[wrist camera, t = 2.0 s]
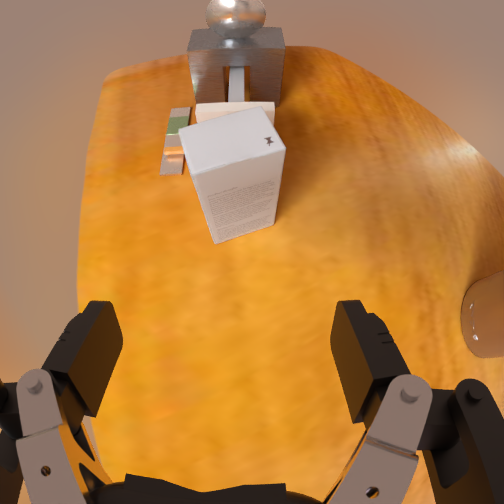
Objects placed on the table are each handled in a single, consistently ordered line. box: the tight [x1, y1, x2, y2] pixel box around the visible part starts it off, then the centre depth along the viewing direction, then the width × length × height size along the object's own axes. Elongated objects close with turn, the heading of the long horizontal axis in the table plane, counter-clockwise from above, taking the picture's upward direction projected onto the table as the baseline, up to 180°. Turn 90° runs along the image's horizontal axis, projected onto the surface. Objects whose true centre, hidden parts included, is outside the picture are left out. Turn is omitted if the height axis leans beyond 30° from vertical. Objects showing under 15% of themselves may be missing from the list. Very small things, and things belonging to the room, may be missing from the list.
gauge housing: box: [160, 0, 285, 176], centre depth 26 cm, size 13×15×15 cm
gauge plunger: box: [164, 66, 275, 155], centre depth 29 cm, size 11×11×6 cm
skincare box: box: [178, 106, 286, 244], centre depth 23 cm, size 6×4×12 cm
